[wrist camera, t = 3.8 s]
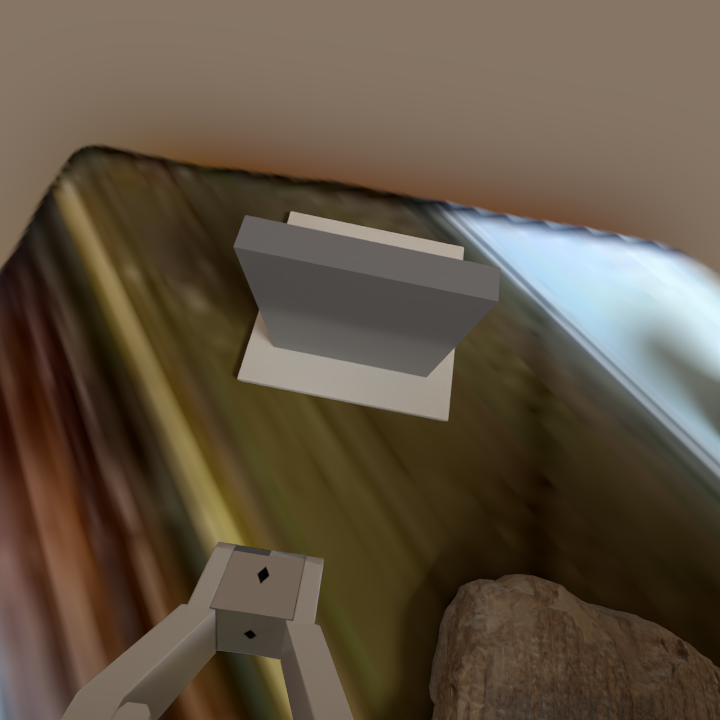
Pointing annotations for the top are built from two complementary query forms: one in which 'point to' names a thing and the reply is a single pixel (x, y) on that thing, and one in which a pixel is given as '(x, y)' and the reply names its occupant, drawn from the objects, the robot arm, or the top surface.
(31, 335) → the top surface
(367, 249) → the slate tile
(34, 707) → the top surface
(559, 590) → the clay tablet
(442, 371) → the beige mat
